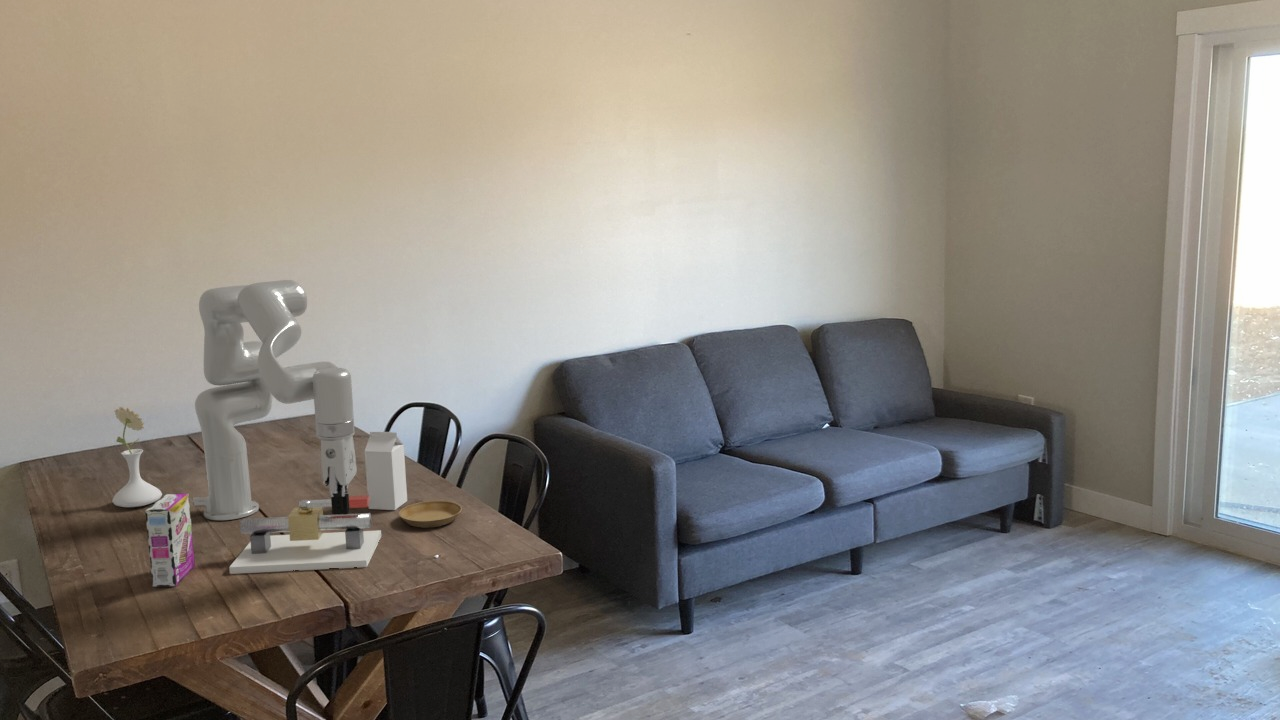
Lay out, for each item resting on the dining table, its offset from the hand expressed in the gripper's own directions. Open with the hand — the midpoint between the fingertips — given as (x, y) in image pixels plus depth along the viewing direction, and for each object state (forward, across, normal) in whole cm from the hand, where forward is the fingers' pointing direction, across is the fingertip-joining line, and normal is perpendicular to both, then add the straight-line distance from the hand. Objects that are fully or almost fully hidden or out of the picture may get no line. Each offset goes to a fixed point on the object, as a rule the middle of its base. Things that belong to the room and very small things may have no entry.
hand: (341, 513), depth 207 cm
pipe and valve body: (+11, +8, +10) cm, 16 cm away
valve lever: (+1, +8, +3) cm, 9 cm away
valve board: (+12, +8, +10) cm, 17 cm away
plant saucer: (+12, +27, -14) cm, 33 cm away
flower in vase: (+14, +48, +64) cm, 81 cm away
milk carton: (+13, +39, -1) cm, 41 cm away
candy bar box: (+12, -2, +34) cm, 36 cm away
